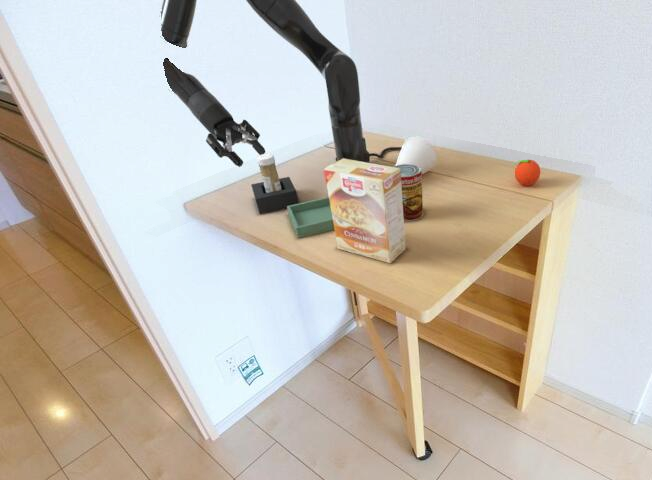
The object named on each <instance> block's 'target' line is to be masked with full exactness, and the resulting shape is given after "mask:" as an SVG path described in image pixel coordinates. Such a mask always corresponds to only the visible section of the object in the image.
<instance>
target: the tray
mask: <svg viewBox="0 0 652 480" xmlns="http://www.w3.org/2000/svg"><path fill="white" fill-rule="evenodd" d="M286 209H287V213H288V217H289V219H290V221H291V224H292V226H293V228H294V231H295V233H296V237H297V238H298V239H300V238H301V239H302V238H305V237H309V236H313V235H317V234H323V233H326V232H331V231H335V229H334V223H333V218H332V212H331V207H330V201H329V196H326V197H322V198H318V199H313V200H309V201H304V202H299V204H294V205H290V206H287V208H286Z"/></svg>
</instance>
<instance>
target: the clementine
mask: <svg viewBox="0 0 652 480" xmlns="http://www.w3.org/2000/svg"><path fill="white" fill-rule="evenodd" d="M516 164H517V165H516ZM514 165H516V167H515V169H514V179H515V180H516V182H517V183H518V184H519V185H521V186H524V187H525V186H532V185H534V184H535V183H536V182H538V180H539V178H540V176H541V168H540V165H539V164H538V163H537V162H536V161H535V160H533V159H521V160H518V161H516V162H515V163H514Z"/></svg>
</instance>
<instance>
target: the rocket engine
mask: <svg viewBox="0 0 652 480" xmlns="http://www.w3.org/2000/svg"><path fill="white" fill-rule="evenodd" d="M401 147H402V148H401V150H399V153H398V156H397V160H396V163H395V165H394V166H397V165H401V164H414V165H418V166H420V167H421V173H422V175H424V174H426V173H428V172H429V171H431V170H433V168H434V167H435V166H436V164H437V161H438V159H437V157H438V156H437V153H436V150H435V148H434V147H433V145H432V144H431V143H430V141H428V140H427V139H426V138H424V137H421V136H417V135H413V136H409V137H407V138H406V139H405V140H404V142H403V144H402V146H401Z"/></svg>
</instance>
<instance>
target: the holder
mask: <svg viewBox="0 0 652 480" xmlns="http://www.w3.org/2000/svg"><path fill="white" fill-rule="evenodd" d="M279 181H280V185H281V188H282V190H279V191H274V192H270V193H266V189H265V186H264V182H263V181H261V182H257V183H251V189H252V193H253V196H254V200H255V203H256V206H257V209H258V214H259V215H263V214H267V213H271V212H277V211H281V210H286V209H287V206H290V205H294V204H299V203H300V202H299V198H298V193H297V190H296V188H295V186H294V183H293V182H292V180H291V177H290V176H287V177H286V176H285V177H281V178H280V177H279Z"/></svg>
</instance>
